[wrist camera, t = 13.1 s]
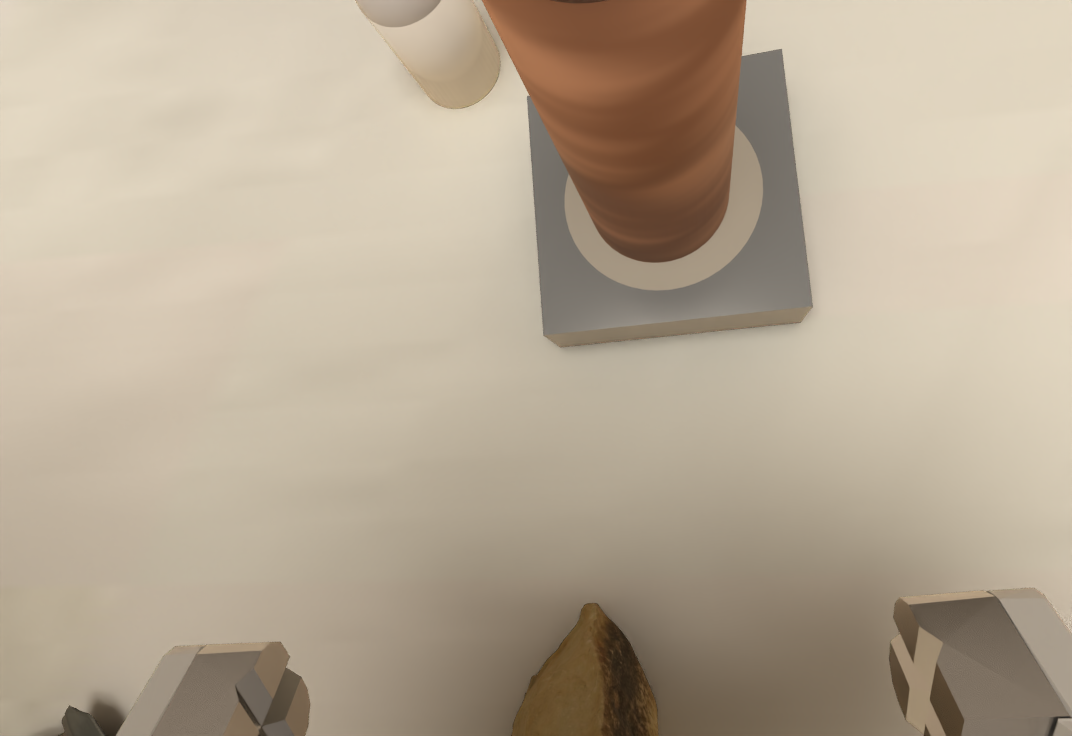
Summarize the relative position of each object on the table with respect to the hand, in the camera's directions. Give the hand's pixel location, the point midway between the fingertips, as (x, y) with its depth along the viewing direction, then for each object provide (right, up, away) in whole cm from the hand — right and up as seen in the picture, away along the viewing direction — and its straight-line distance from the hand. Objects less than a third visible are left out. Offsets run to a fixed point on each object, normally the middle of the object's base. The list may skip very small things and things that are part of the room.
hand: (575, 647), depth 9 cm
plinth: (+5, +9, +18) cm, 21 cm away
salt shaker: (-4, +17, +21) cm, 27 cm away
